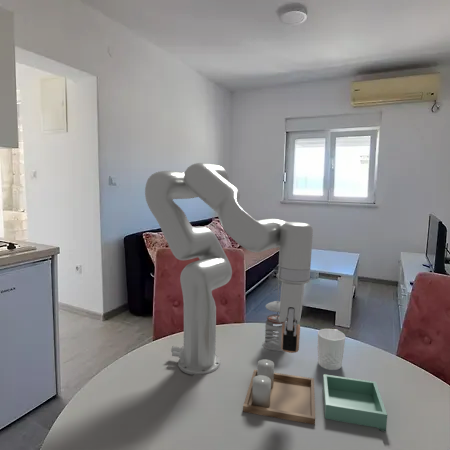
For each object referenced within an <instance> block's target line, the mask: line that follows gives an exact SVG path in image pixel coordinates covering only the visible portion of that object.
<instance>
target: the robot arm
mask: <svg viewBox="0 0 450 450" xmlns="http://www.w3.org/2000/svg"><path fill="white" fill-rule="evenodd" d="M229 181H230V179H229V175H228V172H227V170H226V169H225V168H224V167H223V166H221V165H219V164H215V163H214V164H213V163H205V162H196V163H192V164H191V165H189V166H188V167H187V168H186V169H185V171H176V170H175V171H174V170H160V171H157V172H154V173H153V174H151V175H150V176H149V177H148V179H147V181H146V184H145V187H144V195H145V196H144V197H145V201H146V204H147V207H148V209H149V210H150V212H151V214H152V215H153V217H154V218H155V220H156V222H157V223H158V225H159V228H160V229H161V232H162V234H163V236H164V239H165V240H166V242H167V245H168V247H169V249H170V252H171V253H172V255H173V256H174V257H175V259H177V260H179V261H188V260H193V259H196V258H198V259H199V260H195V261H192V262H191V263H188V264H187V265H185V267H184V268H183V269H182V270H181V272H180V276H179V277H180V280H179V281H180V288H181V292H182V298H183V299H182V302H183V346H182V347H181V346H177V345H176V346H174V345H173V346H172V347H171V348H170V351H171V356H172V357H175V358H177V357H178V361H177V362H178V363H177V364H178V366H177V367H178V368H179V370H180V371H182V372H183V373H185V374H187V375H191V376H195V375H207V374H210V373H212V372H216V370H218V369H219V367H220V366H221V358H220V356H218V355H217V354H216V350H217V349H216V342H217V341H216V340H217V339H216V337H217V335H216V334H217V306H216V301H215V299H214V296H213V291H214V290H216V289H219V288H221V287H223V286H225V285H226V284H228V283H230V281H231V279H232V274H233V268H232V265H231V262H230V261H229V258H228V256H227V254H226V251H224V248H223V247H222V245H221V243H220V241H219V239H218V237H217V235H216V234H215V232H213V230H212V229H210V227H209V228H208V227H207V226H200V225H198V226H192V224H191V222H190V221H189V219H188V217H187V215H186V213H185V212H184V210H183V208H181V207H180V205H178V204H177V203H176V202H175V201H174V200H187V199H188V200H189V199H196V198H199V199H200V200H202V201H203V203H205V204H206V205H207V206H208V207H209V208H211V209H212V210H213V211H215V213H217V217H218V220H219V223H220V224H221V227H222V229H223V230H224V232H225V233H226V234H227V235H228V236H229V237H230V238H232V239H233V241H235V242H236V243H237V244H238V245H240V247H242V248H244V249H245V250H247V251H249V252H252V253H262V252H265V251H267V250H272V249H275V248H276V249H277V248H279V252H278V254H279V255H278V272H277V274H278V278H277V279H279V282H280V281H281V287H280V288H281V289H280V296H279V297H280V300H279V301H280V312H278V315H279V322H280V323H281V322H284V321H285V329H284V333H283V350H287V351H294V352H295V351H296V344H297V335H296V326H297V325H298V324H299V325H300V321H301V316H302V310H303V305H304V304H303V303H304V292H305V284H308V283H310V281H311V279H310V278H311V267H312V266H311V265H312V263H311V262H312V250H313V248H312V247H313V236H314V235H313V232H314V230H313V227H312V225H311V224H309V223H307V222H306V223H305V222H298V221H286V220H282V219H278V218H263V219H258V220H257V219H255V218H254V217H252V216H251V215H250V214H249V213H248V212H246V211H245V210H244V209H243V208H242V207H241V206H240V204H239V201H240V197H241V193H240V190H239V189H238V188H237V186H235V185H233V184H232V183H231V182H229ZM293 325H294V328H293ZM295 353H296V352H295Z"/></svg>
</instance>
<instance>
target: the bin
mask: <svg viewBox="0 0 450 450" xmlns="http://www.w3.org/2000/svg"><path fill="white" fill-rule="evenodd" d="M322 393H323V396H322V397H323V408H324V409H323V410H324V419H326V420H332V421H335V422H336V421H337V422H343V423H348V424H353V425H359V426H366V427H370V428H376V429H378V430H379V431H381V432H387V426H388V424H387V423H388V413H387V410H386V407H385V405H384V401H383V397H382V395H381V392H380V389H379V386H378V383H377V381H371V380H367V379H359V378H353V377H352V378H351V377H345V376H339V375H338V376H337V375H331V374H326V373H325V374H323V378H322Z"/></svg>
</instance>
